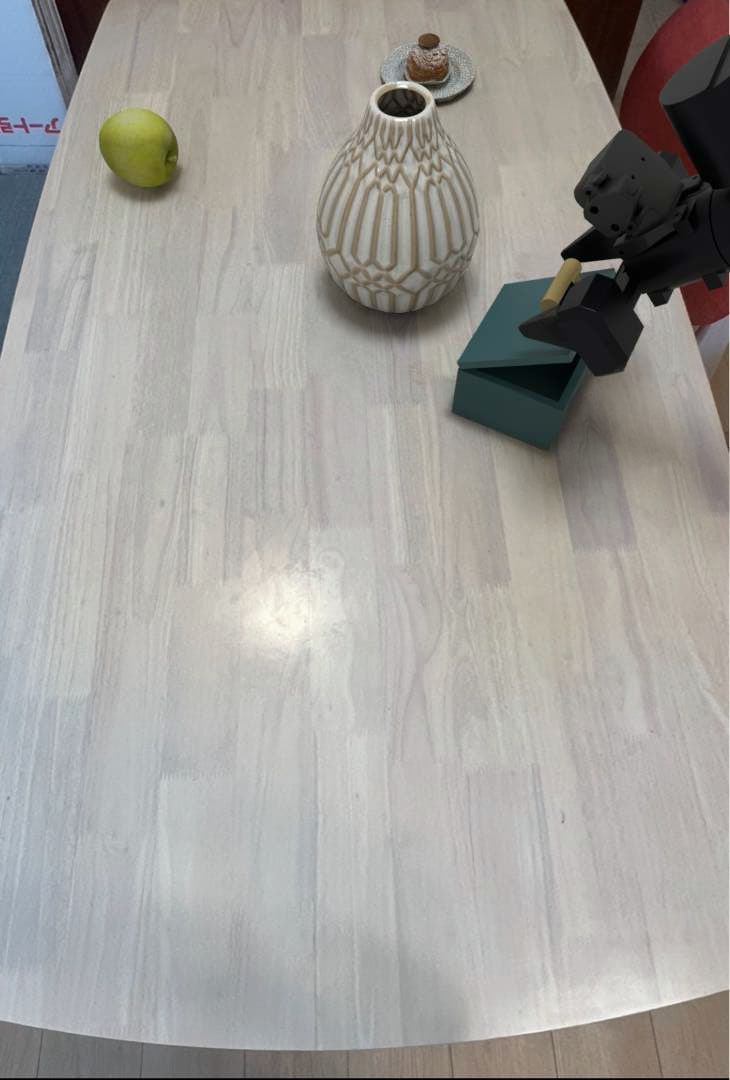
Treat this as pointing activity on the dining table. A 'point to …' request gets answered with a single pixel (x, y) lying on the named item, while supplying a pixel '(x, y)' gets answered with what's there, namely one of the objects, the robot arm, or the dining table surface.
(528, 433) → the teal open box
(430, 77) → the pastry
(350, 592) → the dining table surface
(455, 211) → the vase
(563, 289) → the box lid
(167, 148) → the apple
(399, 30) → the dining table surface
